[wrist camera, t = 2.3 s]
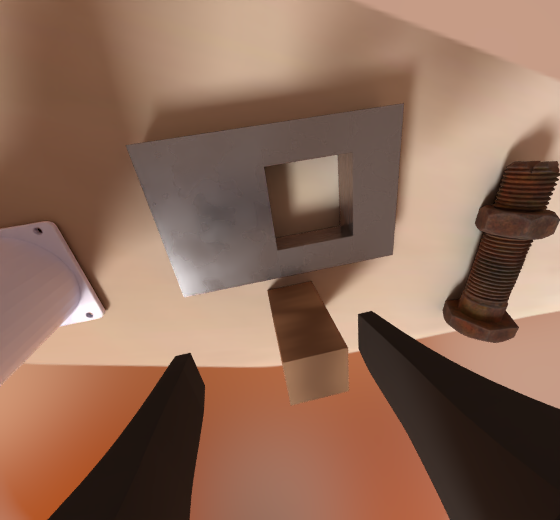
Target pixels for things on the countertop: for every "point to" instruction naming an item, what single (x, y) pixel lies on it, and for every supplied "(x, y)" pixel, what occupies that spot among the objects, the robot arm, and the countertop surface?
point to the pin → (308, 344)
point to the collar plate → (255, 200)
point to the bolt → (504, 250)
